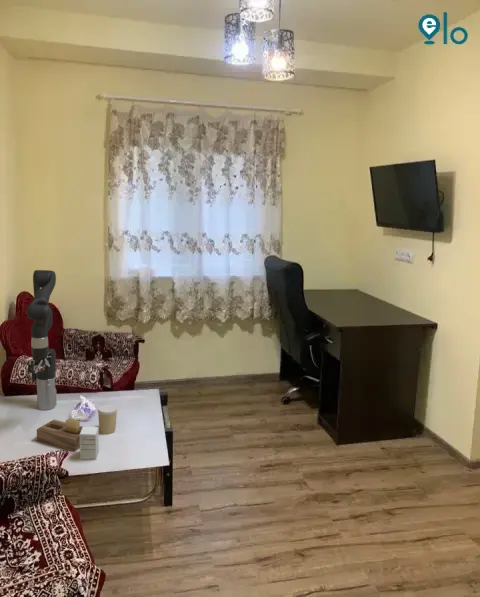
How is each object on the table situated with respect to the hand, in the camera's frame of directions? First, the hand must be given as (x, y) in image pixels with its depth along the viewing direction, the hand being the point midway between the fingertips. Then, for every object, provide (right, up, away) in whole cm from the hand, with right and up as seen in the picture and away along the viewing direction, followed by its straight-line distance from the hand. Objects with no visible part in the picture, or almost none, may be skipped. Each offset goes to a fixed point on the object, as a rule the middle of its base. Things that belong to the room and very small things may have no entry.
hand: (40, 377), depth 254 cm
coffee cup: (+30, -29, +9) cm, 43 cm away
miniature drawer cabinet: (+28, -34, -15) cm, 47 cm away
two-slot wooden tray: (+13, -30, -4) cm, 33 cm away
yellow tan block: (+17, -29, -5) cm, 34 cm away
